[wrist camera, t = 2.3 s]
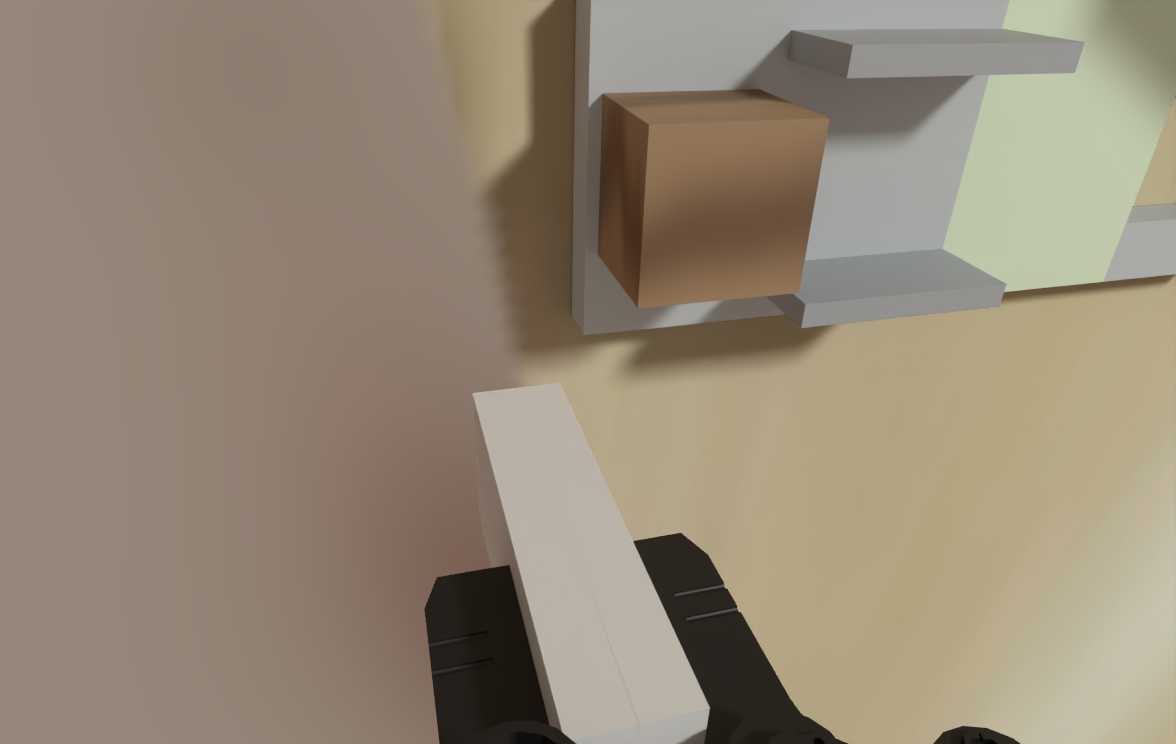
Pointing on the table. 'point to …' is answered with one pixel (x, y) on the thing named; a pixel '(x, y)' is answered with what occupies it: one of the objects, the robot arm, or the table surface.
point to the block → (707, 193)
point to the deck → (909, 143)
